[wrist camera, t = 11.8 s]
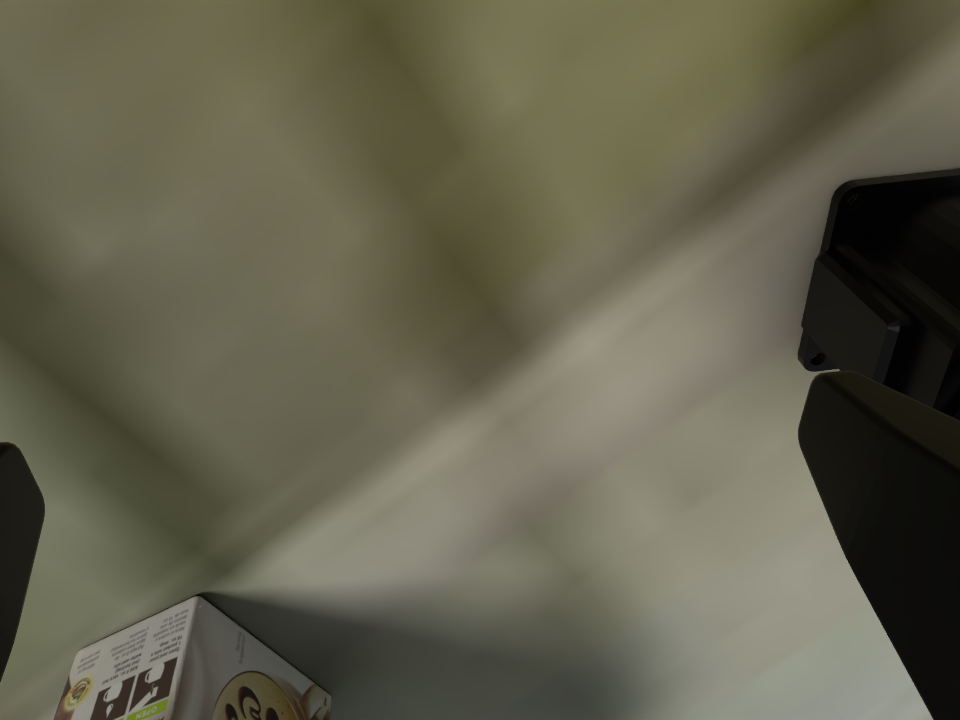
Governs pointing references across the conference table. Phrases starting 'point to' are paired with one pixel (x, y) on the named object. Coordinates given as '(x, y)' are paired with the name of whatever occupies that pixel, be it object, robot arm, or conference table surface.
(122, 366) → the conference table surface
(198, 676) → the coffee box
